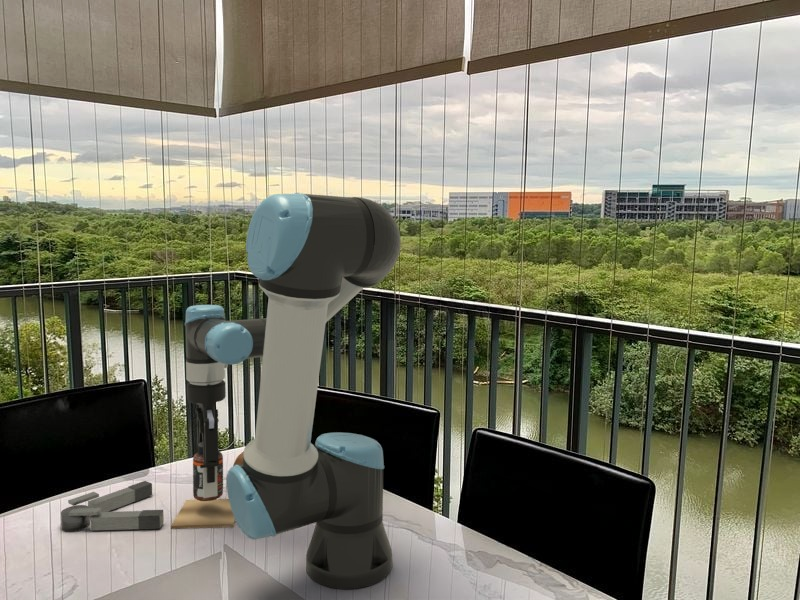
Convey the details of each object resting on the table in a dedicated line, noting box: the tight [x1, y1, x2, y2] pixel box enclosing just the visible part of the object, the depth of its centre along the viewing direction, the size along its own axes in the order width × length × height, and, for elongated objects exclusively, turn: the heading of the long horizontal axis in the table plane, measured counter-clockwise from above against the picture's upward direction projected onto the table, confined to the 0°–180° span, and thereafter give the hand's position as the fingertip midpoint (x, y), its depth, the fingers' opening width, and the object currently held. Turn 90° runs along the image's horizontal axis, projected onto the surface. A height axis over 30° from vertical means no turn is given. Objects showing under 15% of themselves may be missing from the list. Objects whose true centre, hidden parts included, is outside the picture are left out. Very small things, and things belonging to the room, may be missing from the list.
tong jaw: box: [67, 480, 153, 517], centre depth 128 cm, size 17×3×4 cm, turn 145°
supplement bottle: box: [192, 442, 224, 501], centre depth 125 cm, size 6×6×11 cm
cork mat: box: [170, 498, 236, 530], centre depth 126 cm, size 12×12×1 cm
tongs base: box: [60, 504, 165, 533], centre depth 120 cm, size 5×20×4 cm, turn 95°
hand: (208, 489), depth 125 cm, fingers closed on supplement bottle, 6 cm apart
